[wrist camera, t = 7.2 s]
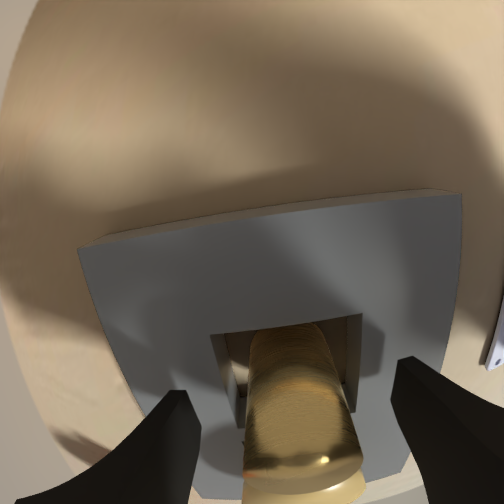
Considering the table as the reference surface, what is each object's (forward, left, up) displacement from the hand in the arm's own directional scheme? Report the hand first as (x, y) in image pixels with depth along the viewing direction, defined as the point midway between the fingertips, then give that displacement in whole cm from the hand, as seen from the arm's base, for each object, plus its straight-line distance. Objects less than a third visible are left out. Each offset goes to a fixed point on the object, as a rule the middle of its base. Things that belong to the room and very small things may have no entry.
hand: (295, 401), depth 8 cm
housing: (0, +2, -3) cm, 4 cm away
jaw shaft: (0, 0, -3) cm, 3 cm away
